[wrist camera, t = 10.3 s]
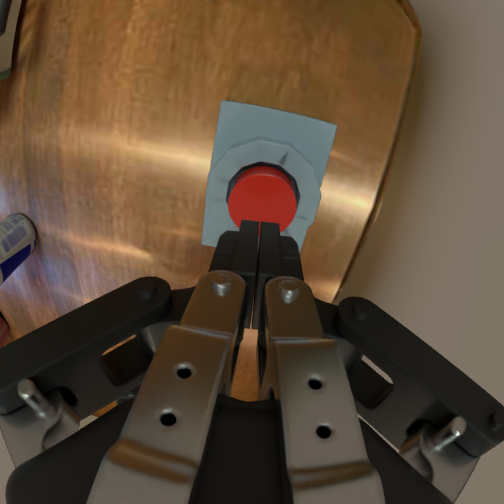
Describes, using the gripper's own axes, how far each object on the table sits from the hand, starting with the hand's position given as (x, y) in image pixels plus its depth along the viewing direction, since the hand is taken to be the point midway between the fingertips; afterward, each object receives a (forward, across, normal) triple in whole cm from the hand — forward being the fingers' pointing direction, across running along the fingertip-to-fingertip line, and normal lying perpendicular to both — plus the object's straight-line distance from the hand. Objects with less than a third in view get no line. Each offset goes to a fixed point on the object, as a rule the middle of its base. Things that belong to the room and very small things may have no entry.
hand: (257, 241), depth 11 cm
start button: (+5, 0, 0) cm, 5 cm away
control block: (+9, 0, 0) cm, 9 cm away
